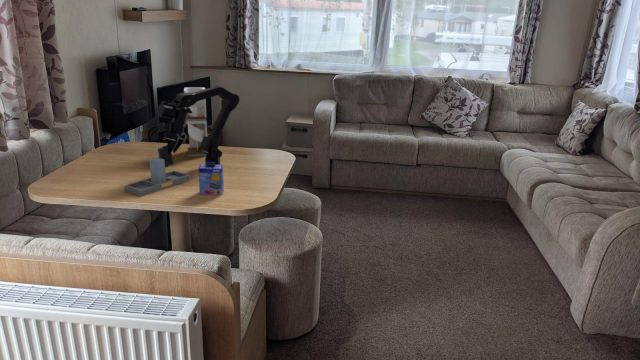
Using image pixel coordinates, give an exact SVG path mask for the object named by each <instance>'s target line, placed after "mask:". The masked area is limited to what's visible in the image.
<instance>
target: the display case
mask: <svg viewBox="0 0 640 360" xmlns="http://www.w3.org/2000/svg"><path fill="white" fill-rule="evenodd" d="M204 89H206V87H184V88H183V93H194V92H197V91H201V90H204ZM184 108H187V107H184ZM188 108H190V110H191V111H192V114H191V113H188V114H187V118H186V122H185V124H186V125H187V133H188V134H187V135H188V141H189V142H188V143H189V146H188V147H187V150H186V151H187V152H186V153H187V157H206V154H204V151H202V149H201V142H202V140H203V137H204V136H206V137H207V136H208V122H207V100H206V99H203V100H200V101H198V102H196V103H195V104H194V105H192V106H190V107H188Z"/></svg>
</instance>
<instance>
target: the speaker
mask: <svg viewBox="0 0 640 360" xmlns="http://www.w3.org/2000/svg"><path fill="white" fill-rule="evenodd" d="M157 151H158V158H160V159H164V160H165V167H166V168H167V167H169V166H172V165H174V160H173V154H172V153H171V154H168V146H167V144H166V145H164V146H163V145H162V146H161V147H158V148H157Z"/></svg>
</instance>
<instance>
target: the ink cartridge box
mask: <svg viewBox="0 0 640 360" xmlns="http://www.w3.org/2000/svg"><path fill="white" fill-rule="evenodd" d="M209 163H212V164H209ZM198 183H199V184H198V187H199V188H198V189H199V196H200V195H201V196H223V194H224V192H225V188H224V187H225V186H224V185H225V183H224V165H223V164H220V165H215V163H214V162H206V165H205V164H200V165H199V167H198Z"/></svg>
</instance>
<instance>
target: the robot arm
mask: <svg viewBox="0 0 640 360" xmlns="http://www.w3.org/2000/svg"><path fill="white" fill-rule="evenodd" d="M216 96H218V97H219V98H221V101H220V104H221V106H220V107H221V108H220V110H219V113H218V115H217V117H216V120H215V122H214V124H213V125H212V129H211V130H210V133H209V134H207V137H206V136H204V137H203V140H202V142H201V149H202V151H204V154H206V156H205V158H204V162H205V163H204V165H206V162H214V163H215V165H221V157H222V156H223V151H221V150H220V149H219V145H220V137H221V134H222V133H223V130H224V127H225V126H226V123H227V121H228V119H229V117H230V114H231V113H232V112H233V111H234V110H235V109H236V108H237V107H238V105H239V103H240V97H239V95H238V94H237V93H234V92H233V93H232V92H231V91H230V90H227V89H226V88H224V87H223V86H222V85H214V86H212V87H209V88H205V89H204V90H201V91H197V92H194V93H184V92H181V93H178V94H177V95H176V97H175V98H174V99H173V100H172V101H171V102H169V103H168V102H166V101H161V103H160V104H159V105H158V107H157V112H156V114H157V116H158V117H161V118H167V119H172V121H170V123H168V124H167V123H165V122H159V124H158V125H157V131H158V133H162V132H163V133H164V134H163V138H164V140H165V141H166V142H167V144H166V145H167V146H168V154H172V153H174V154H176V153H177V151H178V150H179V149H180V147H181V146H182V145H183V143H184V142H185V141H186V140H187V135H188V134H187V133H186V132H184V131H185V127H186V125H187V124H186V118H187V114H188V113H191V114H192V111H191V110H190V108H188V107H190V106H192V105H194V104H195V103H196V102H198V101H200V100H203V99H210V98H213V97H216ZM185 107H187V108H185ZM209 164H212V163H209Z"/></svg>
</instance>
